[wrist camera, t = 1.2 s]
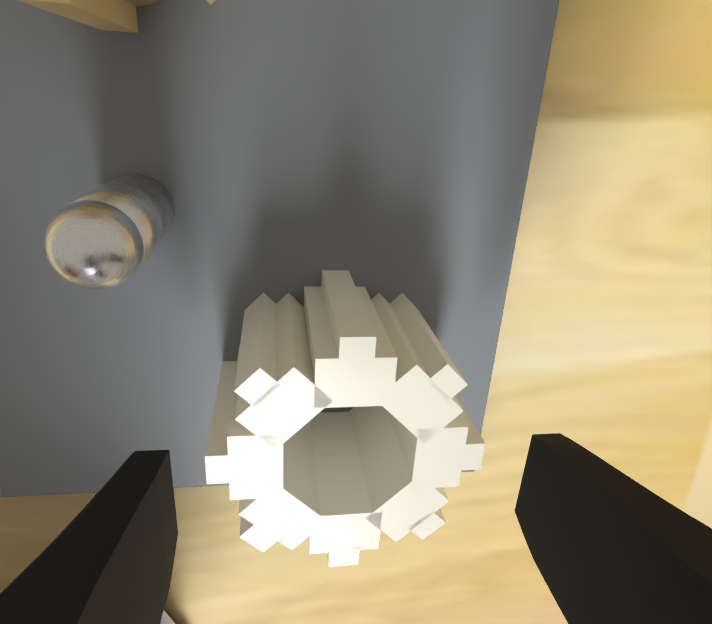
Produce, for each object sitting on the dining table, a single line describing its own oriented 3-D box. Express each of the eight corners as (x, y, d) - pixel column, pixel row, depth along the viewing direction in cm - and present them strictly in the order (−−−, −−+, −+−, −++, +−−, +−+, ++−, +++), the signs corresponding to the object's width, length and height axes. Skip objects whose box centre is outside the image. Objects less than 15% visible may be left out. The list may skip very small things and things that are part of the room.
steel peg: (125, 251, 12) (64, 317, 9) (88, 189, 12) (5, 232, 8) (186, 225, 12) (150, 281, 9) (152, 162, 12) (98, 194, 8)
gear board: (463, 451, 18) (538, 593, 13) (17, 473, 16) (-105, 655, 11) (605, -394, 10) (938, -880, 5) (-240, -587, 8) (-1147, -1782, 3)
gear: (196, 421, 15) (170, 531, 11) (274, 239, 13) (275, 298, 9) (375, 473, 16) (404, 584, 13) (465, 319, 15) (529, 395, 11)
